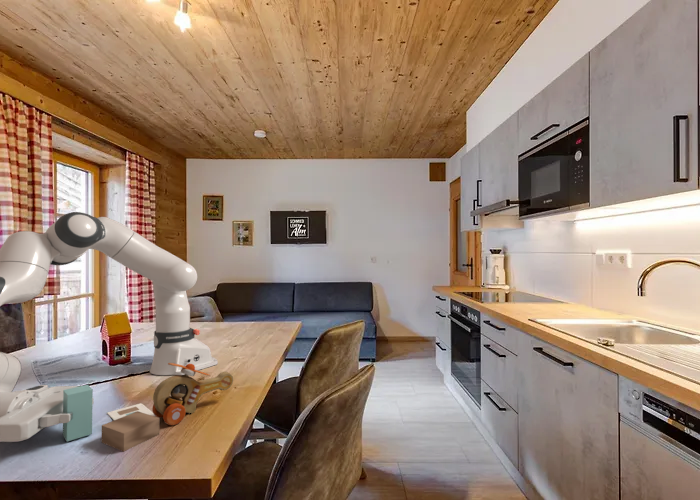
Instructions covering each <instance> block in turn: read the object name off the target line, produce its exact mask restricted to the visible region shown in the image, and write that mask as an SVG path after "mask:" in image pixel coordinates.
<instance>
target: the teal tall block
mask: <svg viewBox="0 0 700 500" xmlns="http://www.w3.org/2000/svg"><path fill="white" fill-rule="evenodd" d="M78 386H79V385H78ZM93 392H94V391H93V388H92V387H90V385H89V384H84V385H81V386H79V387H75V388H70V389H66V390H63V413H64V412H73V419H72V420H71V421H69V422H68V423H62V436H63V438H64V439H65V441H66V442H70V441H73V440H77V439H79V438H80V439H81V438H84V437H86V436H90V435H92V434H93V405H92V401H93V399H94V398H93V397H94V396H93V395H94V393H93Z"/></svg>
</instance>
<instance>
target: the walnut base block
mask: <svg viewBox="0 0 700 500" xmlns="http://www.w3.org/2000/svg"><path fill="white" fill-rule="evenodd" d="M159 435H160V417H157V416H155V417H154V416H151V415H148V414H145V413H142V412H138V411H137V412H134V413H132V414H129V415H127V416H124V417H122V418H119V419H117V420H112V421H110V422H107V423H105V424H102V425H101V443H102V444H104V445H106V446H109V447H111V448H114V449H116V450H119V451H121V452H126V451H129V450H130V449H133V448H134V447H137V446H139V445H141V444H143V443H145V442H147V441H149V440H151V439H153V438H155V437H157V436H159ZM132 447H133V448H132Z"/></svg>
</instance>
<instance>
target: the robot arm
mask: <svg viewBox="0 0 700 500" xmlns="http://www.w3.org/2000/svg"><path fill="white" fill-rule="evenodd" d="M89 250H94V251H98V252H101V253H103V254H104V255H106V256H107V257H109V258H111V259H112V260H114V261H116V262H117V263H118V264H121V265H122V266H124V267H125V268H127V269H129V270H131V271H133V272H135V273H136V274H138V275H141V276H142V277H143V278H146V279H148V280H150V281H152V289H153V297H154V303H155V304H154V305H155V330H154V332H153V333H154V334H153V335H154V336H153V345H154V346H153V347H154V351H153V356H152V363H151V365H150V369H149V373H150V374H153V375H156V376H176V375H185V374H184V373H181V372H180V371H181V369H182V367H178V366H173V365H169V364H168V363H174V364H179V365H183V366H186V365H187V364H193V365H194V366H195V370H197V371H200V370H204V369H206V368H210V367H213V366H216V365H218V364H219V362H218V359H217V358H215V357H213V356H212V352H211V348H210V347H209V346H208V345H207V343H206V344H205V343H204V342H202V341H201V340H200V339H198V338H196V336H199V335H200V333H201V332H200V329H198V328H192V327H191V305H190V303H189V299H188V295H187V294H188V293H187V291H189V290H191V289H192V288H193V287H194V286H195V285H196V283H197V280H198V272H197V270H196V268H195V267H194V266H193V265H192V264H190V263H188V262H187V261H185V260H183V259H182V258H180V257H179V256H176V255H174V254H172V253H171V252H170V251H167V250H165V249H164V248H162V247H159V246H158V245H156V244H155V243H153V242H152V241H150V240H149V239H147V238H145V237H144V236H143V235H141V234H139V233H138V232H136V231H134V230H133V229H132V228H130V227H128V226H126V225H124V224H122V223H121V222H119V221H116V220H114V219H112V218H110V217H106V216H98V217H96V216H93V215H91V214H88V213H85V212H81V211H72V212H68V213H66V214H64V215H61V216H60V217H58V218H57V220H56V221H55V222H53V223H52V224H51V225H50V226H49V227H48V228H47V229H46V231H45V232H43V233H38V232H36V231H31V230H22V231H21V230H20V231H17V232H13V233H12V234H10V235H9V236H8V237H7V238H6V240H5V241H4V242H3V244H2V245H1V247H0V307H1V306H3V305H7V304H8V305H9V304H20V303H25V302H28V301H30V300H33V299H34V298H36V297H37V296H39V295H40V294H41V292H42V290H43V289H44V287H45V285H46V283H47V282H46V281H47V279H48V274H49V272H50V271H49V270H50V266H51V265H52V266H64V265H70V264H72V263H73V262H75V261H77V260H78V258H80V257H83V255H84V254H85V253H87V252H88V251H89ZM21 374H22V363H21V361H20V360H19V358H17V357H16V356H14V355H12V354H9V353H6V352H2V351H0V442H2V443H5V442H6V443H12V442H14V443H15V442H22V441H25V440H28V439H30V438H31V437H33V436H34V435H36V434H37V433H38V432H40V431H42V430H43V429H45V428H49V427H52V426H55V425H59V424H63V423H68V422H69V421H71V420H72V419H73V412H64V413H63V390H66V389H70V388H75V387H79V385H77V386H75V385H73V386H72V385H65V386H64V385H61V386H60V385H58V386H57V385H56V386H50V387H49V385H48V384H41V385H36V386H33V387H30V388H27V389H21V390H15V388H16V385H17V383H18V382H19V379H20V377H21ZM93 405H94V398H93V401H92V406H93Z"/></svg>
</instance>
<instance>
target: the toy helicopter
mask: <svg viewBox="0 0 700 500" xmlns="http://www.w3.org/2000/svg"><path fill="white" fill-rule="evenodd" d="M168 364H169V365H173V366H178V367H182V369H181V371H180V372H181V373H184V375H171V376H170V377H167V378H165V379H163V380H162V381H161V382H160V383H159V384H158V385H157V386H156V387H155V390H154V392H153V399H152V401H153V402H152V403H153V405H152V408H151V409H152V410H151V411H152V412H153V413H154V415H156V416H155V417H158V418H162V419H163V421H164V423H165V424H167V425H168V426H176V425H179V424H180V423H181V422H182V421H183V420H184V418H185V417H186V413H187V414H190V413H191V414H193V413H195V411H196V409H197V403H198V401H199V400H200V397H201V396H202V395H205V394H207V393H210V392H213V391H216V390H221V391H227V390H228V389H230V388H231V386H232V384H233V383H234V376H233V374H231V373H230V372H228V371H221V372H220V373H218V374H217V376H215V377H211V378H206V379H201V380H196V379H195V378H194V377H195V374H196V373H198V374H201V375H205V376H209V377H210V376H211V374H210V373H207V372H203V371H200V370H195V366H194V365H193V364H187V365H186V366H183V365H179V364H174V363H168Z"/></svg>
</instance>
